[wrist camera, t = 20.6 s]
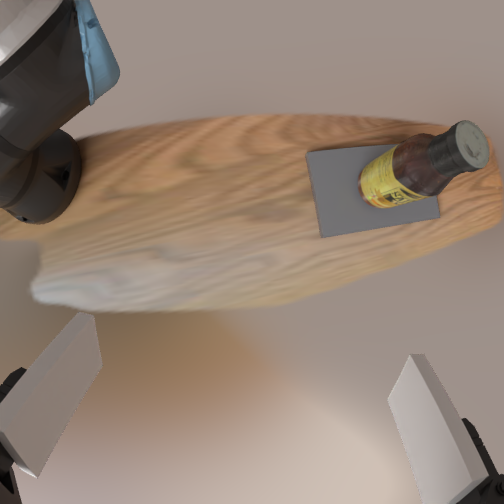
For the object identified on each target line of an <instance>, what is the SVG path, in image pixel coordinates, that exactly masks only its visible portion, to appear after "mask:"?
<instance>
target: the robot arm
mask: <svg viewBox="0 0 504 504" xmlns="http://www.w3.org/2000/svg"><path fill="white" fill-rule="evenodd" d="M119 76H120V69H119V66H118V64H117V62H116V59H115V57H114V55H113V52H112V50H111V48H110V46H109V43H108V41H107V39H106V37H105V34H104V32H103V30H102V28H101V26H100V24H99V21H98V19H97V17H96V14H95V12H94V10H93V7H92V5H91V2H90V0H0V208H3V209H4V210H6V211H7V212H8V213H10V214H11V215H13V216H14V217H15V218H17V219H18V220H20V221H22V222H25V223H29V224H45V223H48V222H50V221H52V220H54V219H55V218H57V217H58V216H59V215H60V214H61V213H62V212H63V211H64V210H65V209H66V208H67V206H68V205H69V203H70V202H71V200H72V198H73V196H74V194H75V192H76V189H77V187H78V183H79V179H80V174H81V156H80V152H79V148H78V146H77V144H76V142H75V140H74V139H73V138H72V137H71V136H70V135H69V134H68V133H66V132H64V131H63V130H61V129H59V128H60V127H62V126H63V125H64V124H65V123H66V122H68V121H69V120H70V119H71V118H73V117H74V116H75V115H76V114H78V113H79V112H80V111H82V110H83V109H84V108H86V107H87V106H88V105H90V106H91V105H93V104H94V102H95V100H96V99H98V98H99V97H100V96H102V95H103V94H104V93H106V92H107V91H108V90H109V89H111V88H112V87H113V86H114V85H115V84H116V83H117V81H118V79H119ZM102 366H103V364H102V360H101V354H100V349H99V344H98V338H97V332H96V326H95V319H94V315H90V314H86V313H82V312H78V313H77V314H76V315H75V316H74V318H73V319H72V320H71V321H70V322H69V323H68V324H67V325H66V326H65V327H64V328H63V329H62V331H61V332H60V333H59V334H58V335H57V336H56V337H55V338H54V340H53V341H52V342H51V343H50V344H49V345H48V346H47V348H46V349H45V350H44V351H43V352H42V353H41V354H40V356H39V357H38V358H37V359H36V360H35V361H34V363H33V364H32V365H31V366H30V367H29V369H28V370H27V369H24V368H22V367H21V368H19V369H17V370H16V371H14V372H12V373H11V374H10V375H9V376H8V377H7V378H6V380H5V381H4V382H3V384H1V386H0V504H22V502H21V498H20V495H19V491H18V487H17V483H16V479H15V475H14V471H13V469H12V467H11V466H12V464H13V462H15V463H16V464H17V465H18V467H19V468H20V469H21V470H22V471H24V472H26V473H28V474H30V475H31V476H33V477H35V478H37V479H38V477H39V475H40V473H41V471H42V469H43V467H44V465H45V464H46V462H47V460H48V458H49V456H50V454H51V452H52V451H53V449H54V447H55V445H56V443H57V442H58V440H59V438H60V436H61V435H62V433H63V431H64V429H65V427H66V426H67V424H68V422H69V421H70V419H71V417H72V415H73V414H74V412H75V410H76V409H77V407H78V405H79V404H80V402H81V400H82V398H83V397H84V395H85V394H86V392H87V390H88V389H89V387H90V385H91V384H92V382H93V380H94V379H95V377H96V376H97V374H98V372H99V371H100V369H101V368H102ZM387 400H388V403H389V406H390V408H391V411H392V414H393V416H394V419H395V422H396V425H397V427H398V430H399V433H400V436H401V438H402V442H403V444H404V447H405V450H406V453H407V456H408V459H409V462H410V465H411V468H412V471H413V474H414V477H415V481H416V484H417V487H418V490H419V494H420V497H421V500H422V503H423V504H504V475H503V474H500V475H499V474H498V472H497V470H496V468H495V466H494V464H493V462H492V460H491V458H490V456H489V454H488V452H487V450H486V448H485V446H483V442H482V440H481V438H479V434H478V432H477V431H476V429H475V427H474V426H473V425H472V424H471V423H470V422H469V421H468V420H467V419H466V418H463V419H461V418H460V416H459V414H458V412H457V410H456V408H455V407H454V405H453V403H452V401H451V399H450V398H449V396H448V394H447V392H446V390H445V389H444V387H443V385H442V384H441V382H440V380H439V378H438V377H437V375H436V373H435V372H434V370H433V368H432V367H431V365H430V363H429V362H428V360H427V358H426V357H425V355H423V354H410V355H409V357H408V359H407V362H406V364H405V366H404V368H403V370H402V372H401V374H400V376H399V378H398V380H397V382H396V384H395V386H394V388H393V389H392V391H391V393H390V396H389V397H388V399H387Z"/></svg>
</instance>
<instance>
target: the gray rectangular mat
mask: <svg viewBox="0 0 504 504" xmlns="http://www.w3.org/2000/svg"><path fill="white" fill-rule="evenodd" d="M396 145H398V144H391V145H376V146H364V147H352V148H342V149H332V150H323V151H315V152H307V153H306V155H305V158H306V162H307V167H308V172H309V177H310V182H311V187H312V192H313V197H314V202H315V208H316V213H317V219H318V224H319V230H320V236H321V238H325V237H331V236H337V235H343V234H348V233H354V232H360V231H366V230H372V229H378V228H383V227H389V226H395V225H401V224H407V223H412V222H418V221H424V220H430V219H436V218H440V213H439V207H438V202H437V196H432V197H429V198H425V199H421V200H418V201H414V202H410V203H406V204H402V205H398V206H395V207H391V208H376V207H373V206H370V205H368V204H367V203H366V202H365V201H364V200H363V199H362V197H361V196H360V193H359V190H358V177H359V174H360V173H361V171H362V170H363V169H364V168H365V167H366V165H368V164H369V163H370V162H372V161H373V160H375V159H376V158H378V157H379V156H381V155H382V154H384V153H386V152H387V151H389V150H390V149H392V148H393V147H395V146H396Z"/></svg>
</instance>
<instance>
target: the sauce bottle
mask: <svg viewBox="0 0 504 504" xmlns="http://www.w3.org/2000/svg"><path fill="white" fill-rule="evenodd" d="M488 160H489V146H488V142H487V139H486V137H485V135H484V134H483V132H482V131H481V129H480V128H479V127H478V126H477V125H475V124H474V123H472V122H470V121H460V122H458V123H456V124H455V125H453V126H452V127H451V128H450V129H449V131H447V132H445V133H443V134H440V135H438V136H433V135H431V134H425V133H423V134H418V135H415V136H413V137H411V138H409V139H408V140H406V141H403V142H401V143H400V144H398V145H396V146H395V147H393V148H392V149H390V150H389V151H387V152H386V153H384V154H382V155H381V156H379V157H378V158H376V159H375V160H373V161H372V162H370V163H369V164H368V165H366V167H365V168H364V169H363V170H362V171H361V173H360V174H359V177H358V190H359V193H360V196H361V197H362V199H363V200H364V201H365V202H366V203H367V204H368V205H370V206H373V207H376V208H391V207H395V206H398V205H402V204H406V203H410V202H414V201H418V200H421V199H425V198H429V197H432V196H436V195H438V194H439V193H441V191H442V190H443V189H444V188H445V187H446V186H447V184H448V183H449V182H450V181H451V180H452V179H453V177H456V176H457V175H458V174H461V173H464V172H467V171H468V172H474V171H477V170H479V169H482V168H483V167H484V166H486V164H487V162H488Z"/></svg>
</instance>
